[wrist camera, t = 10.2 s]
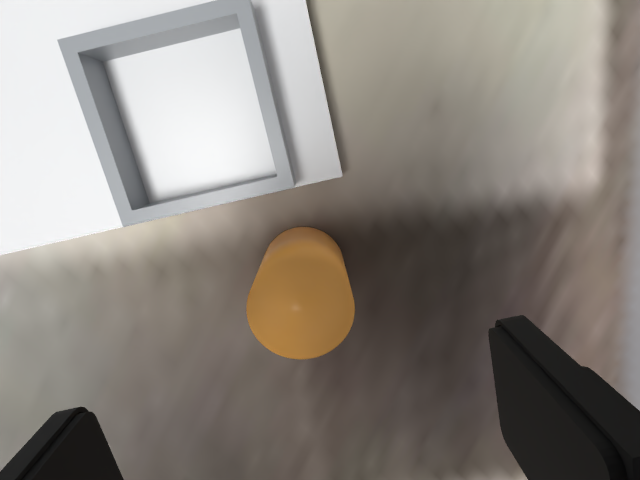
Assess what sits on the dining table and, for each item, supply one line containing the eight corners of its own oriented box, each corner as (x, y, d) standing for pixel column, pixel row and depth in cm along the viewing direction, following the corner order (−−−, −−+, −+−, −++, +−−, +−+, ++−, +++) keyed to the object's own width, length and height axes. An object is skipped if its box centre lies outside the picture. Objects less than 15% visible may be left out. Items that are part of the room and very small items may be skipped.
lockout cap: (351, 294, 23) (364, 347, 17) (274, 310, 23) (262, 368, 17) (334, 218, 22) (342, 247, 16) (254, 236, 22) (233, 272, 16)
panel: (339, 172, 21) (346, 180, 17) (-61, 264, 22) (-140, 292, 18) (255, -227, 17) (238, -333, 13) (-233, -97, 18) (-383, -162, 14)
